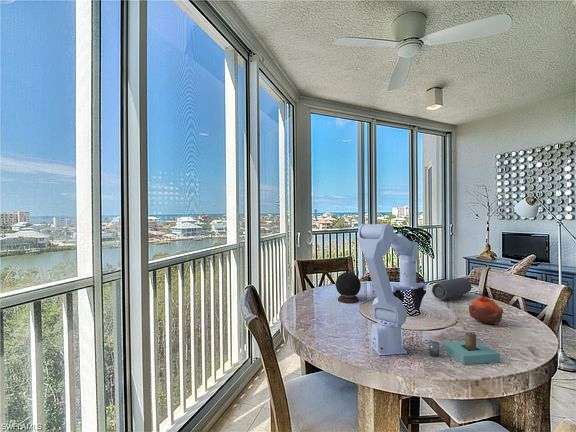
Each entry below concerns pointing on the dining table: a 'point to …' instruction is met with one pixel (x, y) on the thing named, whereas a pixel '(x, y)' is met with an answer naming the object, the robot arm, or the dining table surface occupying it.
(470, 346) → the walnut dowel
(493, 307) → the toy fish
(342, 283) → the snow globe
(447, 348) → the hole block
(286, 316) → the dining table surface
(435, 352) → the metal stub
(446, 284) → the bluetooth speaker
